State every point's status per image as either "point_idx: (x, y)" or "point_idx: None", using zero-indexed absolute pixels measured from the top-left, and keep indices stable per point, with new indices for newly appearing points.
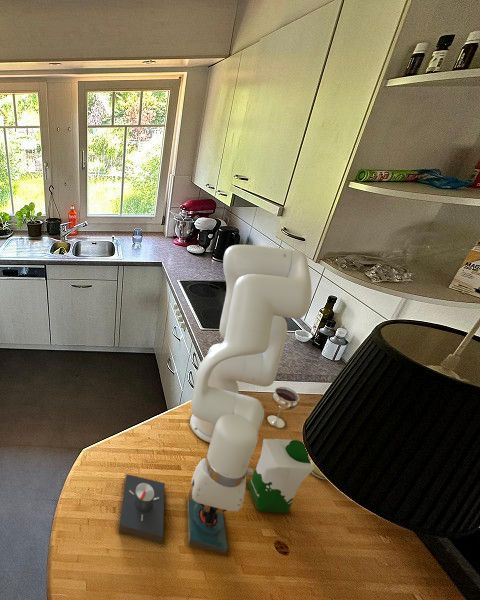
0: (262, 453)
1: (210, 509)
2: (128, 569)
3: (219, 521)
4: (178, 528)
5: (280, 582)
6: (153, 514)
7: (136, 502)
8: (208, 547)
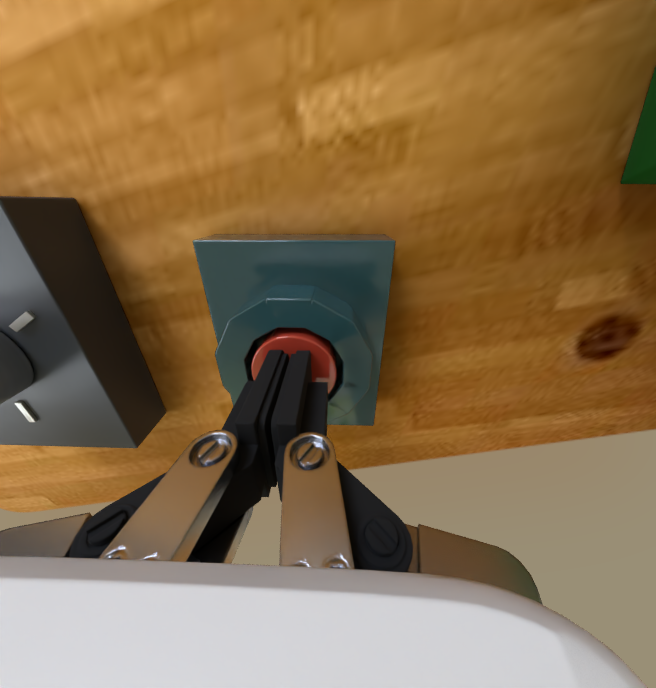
0: None
1: (259, 495)
2: (113, 469)
3: (352, 381)
4: (205, 360)
5: (520, 430)
6: (59, 391)
7: None
8: None
